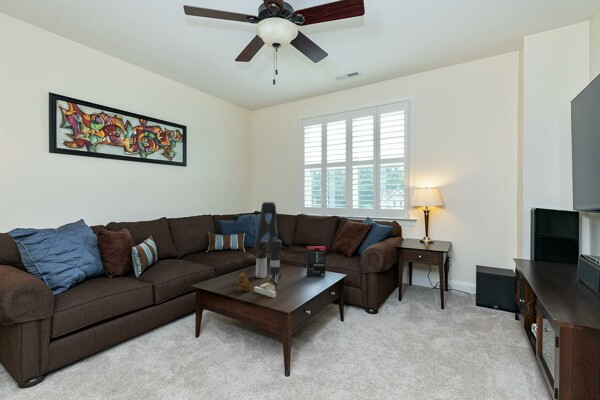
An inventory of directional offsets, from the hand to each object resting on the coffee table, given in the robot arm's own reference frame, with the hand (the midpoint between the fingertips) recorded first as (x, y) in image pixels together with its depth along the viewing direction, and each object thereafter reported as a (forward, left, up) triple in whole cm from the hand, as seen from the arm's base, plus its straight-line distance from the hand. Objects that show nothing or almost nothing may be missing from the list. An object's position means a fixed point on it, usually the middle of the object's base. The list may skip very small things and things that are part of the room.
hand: (275, 287), depth 219 cm
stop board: (0, -11, -2) cm, 12 cm away
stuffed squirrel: (-19, -15, -2) cm, 24 cm away
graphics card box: (+5, +50, -2) cm, 50 cm away
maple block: (-2, -6, -2) cm, 7 cm away
